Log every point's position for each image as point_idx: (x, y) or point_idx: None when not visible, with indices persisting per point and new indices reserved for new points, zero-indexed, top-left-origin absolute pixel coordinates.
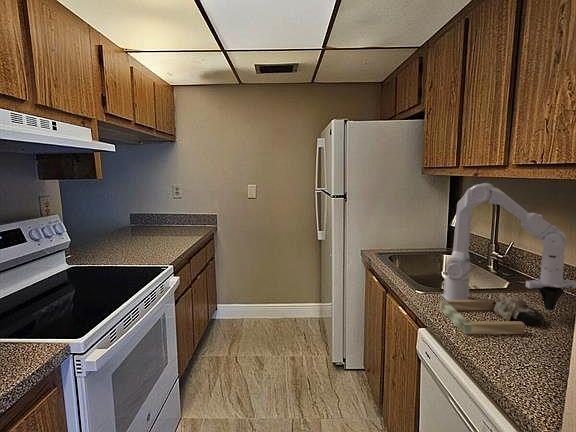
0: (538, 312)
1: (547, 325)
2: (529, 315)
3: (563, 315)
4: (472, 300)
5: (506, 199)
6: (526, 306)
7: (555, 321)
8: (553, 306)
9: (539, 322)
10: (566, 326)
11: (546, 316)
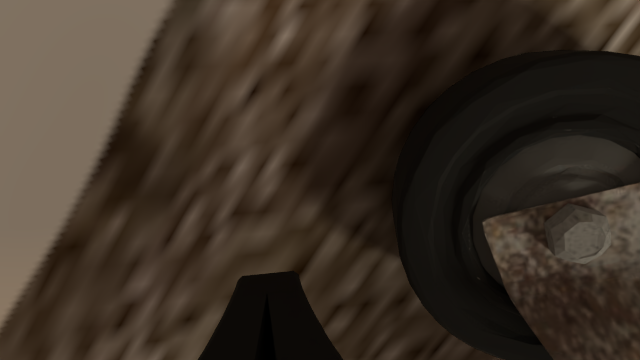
0: (419, 243)
1: (373, 80)
2: (630, 123)
3: (67, 325)
4: None
5: None
6: (558, 312)
7: (225, 186)
8: (247, 303)
9: (490, 69)
10: (174, 60)
11: None
